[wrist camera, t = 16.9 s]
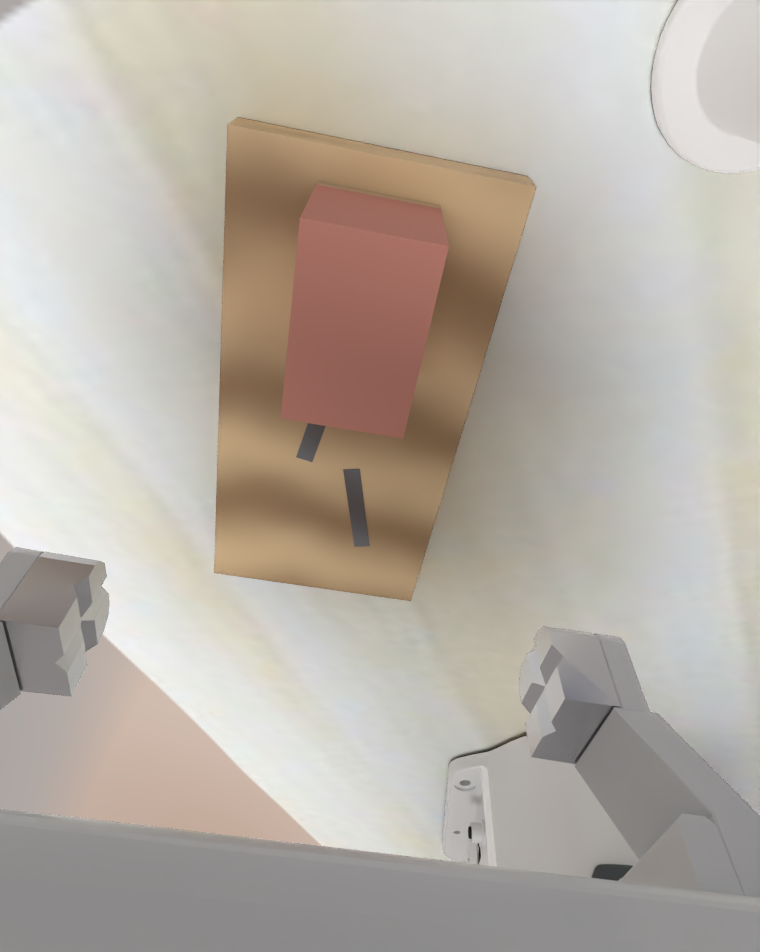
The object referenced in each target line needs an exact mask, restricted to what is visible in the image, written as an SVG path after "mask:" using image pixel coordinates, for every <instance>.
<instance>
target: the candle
mask: <svg viewBox="0 0 760 952" xmlns="http://www.w3.org/2000/svg"><path fill="white" fill-rule="evenodd" d="M651 94H652V104H653V110H654V114H655V118H656V121H657V124H658V126H659V129H660V131H661V133H662V135H663V136H664V138H665V140H666V141H667V143H668V144H669V145H670V147H671V148H672V149H673V150H674V151H675V152H676V153H677V154H678V155H680V156H681V157H682V158H683V159H685V160H686V161H688V162H690V163H691V164H693V165H695V166H698V167H700V168H702V169H705V170H708V171H712V172H717V173H728V174H732V173H745V172H751V171H755V170H759V169H760V0H678V2H677V3H676V5H675V7H674V8H673V10H672V12H671V14H670V16H669V18H668V20H667V22H666V25H665V27H664V29H663V32H662V34H661V37H660V40H659V43H658V46H657V50H656V54H655V58H654V64H653V69H652V80H651Z"/></svg>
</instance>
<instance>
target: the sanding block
mask: <svg viewBox="0 0 760 952" xmlns="http://www.w3.org/2000/svg"><path fill="white" fill-rule="evenodd" d="M448 249H449V244H448V239H447V234H446V229H445V225H444V220H443V215H442V210H441V206H440V205H436V204H431V203H426V202H421V201H416V200H411V199H406V198H401V197H396V196H391V195H386V194H381V193H375V192H370V191H365V190H360V189H355V188H350V187H345V186H340V185H335V184H330V183H325V182H319V181H318V182H317V184H316V186H315V188H314V190H313V192H312V194H311V196H310V198H309V200H308V202H307V204H306V206H305V208H304V210H303V213H302V215H301V217H300V222H299V233H298V243H297V253H296V263H295V274H294V284H293V294H292V305H291V315H290V325H289V336H288V346H287V356H286V366H285V377H284V387H283V397H282V408H281V418H280V419H286V420H292V421H299V422H305V423H311V424H317V425H323V426H329V427H335V428H341V429H347V430H353V431H360V432H366V433H372V434H378V435H384V436H390V437H396V438H402V439H403V437H404V433H405V429H406V425H407V421H408V416H409V412H410V408H411V404H412V400H413V395H414V391H415V387H416V383H417V379H418V374H419V370H420V366H421V362H422V358H423V354H424V349H425V345H426V341H427V337H428V333H429V328H430V324H431V320H432V316H433V312H434V307H435V303H436V299H437V295H438V291H439V286H440V282H441V278H442V274H443V270H444V265H445V261H446V257H447V253H448Z"/></svg>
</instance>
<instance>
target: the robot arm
mask: <svg viewBox="0 0 760 952" xmlns="http://www.w3.org/2000/svg"><path fill="white" fill-rule="evenodd" d="M106 576H107V575H106V569H105V563H103V562H101V561H97V560H91V559H85V558H79V557H74V556H68V555H62V554H56V553H50V552H42V551H36V550H31V549H25V548H19V547H16V548H14V549H13V550H11V551H10V552H8V553H7V554H6V556H5V557H4V558H3V559H2V561H1V562H0V710H1V709H2V708H3V707H5V706H6V705H7V704H8V703H10V702H11V701H12V700H14V699H15V698H16V697H17V696H19V695H20V694H21V692H20V691H26V692H34V693H45V694H53V695H63V696H72V694H73V692H74V690H75V688H76V686H77V684H78V682H79V680H80V678H81V676H82V674H83V672H84V670H85V668H86V666H87V659H86V651H87V650H89V649H91V648H92V647H94V646H95V645H97V644H98V642H99V640H100V638H101V636H102V634H103V631H104V628H105V625H106V621H107V618H108V613H109V593H108V592H107V591H106V590H105V589H104V588H103V587H102V584H103V582H104V580H105V578H106ZM534 642H535V647H536V649H535V650H533V651H531V652H529V653H528V654H526V657H525V659H524V661H523V663H522V666H521V672H520V678H519V690H520V697H521V703H522V704H523V705H524V707H525V708H526V709H527V710H528V711H529V713H530V716H529V718H528V720H527V721H526V723H525V727H526V732H527V736H524V737H521V738H518V739H515V740H513V741H511V742H509V743H506V744H504V745H502V746H500V747H498V748H496V749H494V750H491V751H488V752H484V753H479V754H473V755H468V756H464V757H460V758H457V759H455V760H453V761H452V762H451V763H450V764H449V771H448V782H447V793H446V804H445V815H444V826H443V838H442V844H443V851H444V854H445V856H447V857H449V858H451V859H453V860H455V861H458V862H453V861H444V860H436V859H427V858H419V857H410V856H402V855H393V854H385V853H377V852H368V851H360V850H351V849H343V848H334V847H326V846H317V845H309V844H300V843H292V842H283V841H273V840H265V839H257V838H249V837H240V836H231V835H223V834H214V833H206V832H198V831H189V830H180V829H172V828H163V827H154V826H146V825H138V824H129V823H120V822H111V821H104V820H95V819H87V818H78V817H70V816H61V815H52V814H44V813H35V812H27V811H19V810H10V809H2V808H0V952H760V816H759V815H758V814H757V813H756V812H755V811H754V810H753V809H752V808H751V807H750V806H749V805H748V804H747V803H746V802H745V801H744V800H743V799H742V798H741V797H740V796H739V795H738V794H737V793H736V792H735V791H734V790H733V789H732V788H731V787H730V786H729V785H728V784H727V783H726V782H725V781H724V780H723V779H722V778H721V777H720V776H719V775H718V774H717V773H716V772H715V771H714V770H713V769H712V768H711V767H710V766H709V765H708V764H707V763H706V762H705V761H704V760H703V759H702V758H701V757H700V756H699V754H698V753H697V752H696V751H695V750H694V749H693V748H692V747H691V746H690V745H689V744H688V743H687V742H686V741H685V740H684V739H683V738H682V737H681V736H680V735H679V734H678V733H677V732H676V731H675V730H674V729H673V728H672V727H671V726H670V725H669V724H668V723H667V722H666V721H665V720H664V719H663V718H662V717H661V716H660V715H659V714H657V713H652V712H650V711H649V708H648V705H647V702H646V700H645V697H644V694H643V691H642V689H641V686H640V683H639V680H638V678H637V675H636V672H635V669H634V667H633V664H632V661H631V659H630V656H629V653H628V650H627V648H626V645H625V642H624V641H623V640H622V639H621V638H620V637H615V636H608V635H601V634H592V633H588V632H581V631H573V630H566V629H559V628H551V627H544V626H543V627H542V628H541V629H539V630H538V632H537V634H536V636H535V638H534Z"/></svg>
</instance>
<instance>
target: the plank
mask: <svg viewBox="0 0 760 952" xmlns="http://www.w3.org/2000/svg"><path fill="white" fill-rule="evenodd" d="M318 181H319V182H325V183H330V184H335V185H340V186H345V187H350V188H355V189H360V190H365V191H370V192H375V193H381V194H386V195H391V196H396V197H401V198H406V199H411V200H416V201H421V202H426V203H431V204H436V205H440V206H441V210H442V215H443V220H444V225H445V229H446V234H447V239H448V244H449V249H448V253H447V257H446V261H445V265H444V270H443V274H442V278H441V282H440V286H439V291H438V295H437V299H436V303H435V307H434V312H433V316H432V320H431V324H430V328H429V333H428V337H427V341H426V345H425V349H424V354H423V358H422V362H421V366H420V370H419V374H418V379H417V383H416V387H415V391H414V395H413V400H412V404H411V408H410V412H409V416H408V421H407V425H406V429H405V433H404V437H403V439H402V438H396V437H390V436H384V435H378V434H372V433H366V432H360V431H353V430H347V429H341V428H335V427H329V426H323V425H317V424H311V423H305V422H299V421H292V420H286V419H280V418H281V408H282V397H283V387H284V377H285V366H286V356H287V346H288V336H289V325H290V315H291V305H292V294H293V284H294V274H295V263H296V253H297V243H298V233H299V222H300V217H301V215H302V213H303V210H304V208H305V206H306V204H307V202H308V200H309V198H310V196H311V194H312V192H313V190H314V188H315V186H316V184H317V182H318ZM535 190H536V186H535V184H534V183H533V182H532V181H531V179H530V178H529V177H528V176H524V175H519V174H514V173H509V172H504V171H499V170H494V169H489V168H484V167H479V166H475V165H470V164H465V163H460V162H455V161H450V160H445V159H440V158H435V157H430V156H425V155H421V154H416V153H411V152H406V151H401V150H396V149H391V148H386V147H381V146H376V145H371V144H367V143H362V142H357V141H352V140H347V139H342V138H337V137H332V136H327V135H322V134H317V133H313V132H308V131H303V130H298V129H293V128H288V127H283V126H278V125H273V124H268V123H263V122H259V121H254V120H249V119H244V118H239V117H238V118H237V119H235V120H234V121H232V122H231V123H229V124H228V126H227V160H226V193H225V227H224V260H223V294H222V327H221V361H220V395H219V428H218V462H217V495H216V529H215V563H214V573H218V574H225V575H232V576H239V577H246V578H253V579H260V580H267V581H274V582H281V583H288V584H295V585H302V586H309V587H316V588H323V589H330V590H337V591H344V592H351V593H358V594H365V595H372V596H379V597H386V598H393V599H400V600H407V601H411V598H412V595H413V592H414V589H415V585H416V582H417V579H418V575H419V572H420V569H421V565H422V562H423V559H424V556H425V552H426V549H427V546H428V542H429V539H430V536H431V533H432V529H433V526H434V523H435V519H436V516H437V513H438V509H439V506H440V503H441V500H442V496H443V493H444V490H445V486H446V483H447V480H448V477H449V473H450V470H451V467H452V463H453V460H454V457H455V454H456V450H457V447H458V444H459V440H460V437H461V434H462V430H463V427H464V424H465V421H466V417H467V414H468V411H469V407H470V404H471V401H472V398H473V394H474V391H475V388H476V384H477V381H478V378H479V374H480V371H481V368H482V365H483V361H484V358H485V355H486V351H487V348H488V345H489V342H490V338H491V335H492V332H493V328H494V325H495V322H496V319H497V315H498V312H499V309H500V305H501V302H502V299H503V295H504V292H505V289H506V286H507V282H508V279H509V276H510V272H511V269H512V266H513V263H514V259H515V256H516V253H517V249H518V246H519V243H520V239H521V236H522V233H523V230H524V226H525V223H526V220H527V216H528V213H529V210H530V207H531V203H532V200H533V197H534V193H535Z"/></svg>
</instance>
